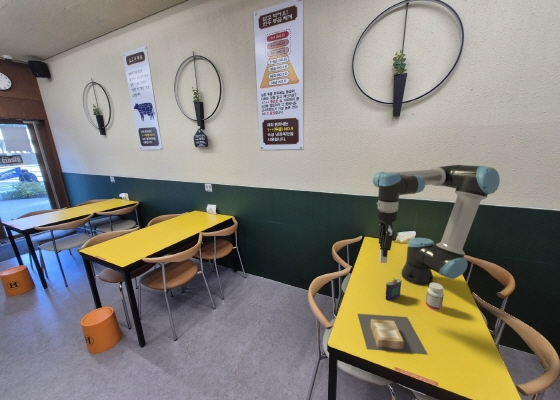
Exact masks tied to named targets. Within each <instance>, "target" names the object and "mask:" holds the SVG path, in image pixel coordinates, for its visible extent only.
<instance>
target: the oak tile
mask: <svg viewBox="0 0 560 400" xmlns="http://www.w3.org/2000/svg"><path fill="white" fill-rule="evenodd" d="M371 329H372V332H373V335H374V338H375V342H376V345H377V347H381V348H392V349H403V345H404V341H403V339H402V337H401V335H400V333H399V330H398V328H397V326H396V324H395V322H394V321H389V320H375V319H371Z"/></svg>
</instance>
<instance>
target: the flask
mask: <svg viewBox="0 0 560 400" xmlns="http://www.w3.org/2000/svg"><path fill="white" fill-rule="evenodd" d="M392 279H393V280H391V281H388V282H386V286H385V300H386V301H388V302H389V301H390V302H391V301H394V300H396V299H398V298H399V297H401V287H402V280H401V279H399V278H395V277H394V278H392Z"/></svg>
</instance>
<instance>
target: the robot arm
mask: <svg viewBox="0 0 560 400" xmlns="http://www.w3.org/2000/svg"><path fill="white" fill-rule="evenodd" d="M500 179H501V178H500V175H499V172H498V171H497V169H496V168H494V167H492V166H491V167H490V166H484V165H465V164H451V165H442V166H435V167H432V168H430V169H423V170H422V169H419V170H406V171H396V172H393V171H387V172H385V171H379V172H376V173H375V174H374V175H373V177H372V184H373V185H374V186H375V187H376V188H378V198H377V199H378V200H377V202H376V205H377V210H376V211H377V212H376V218H377V221H378V244H379V261H378V262H379V263H381V264H388V256H389V255H388V254H389V253H388V252H389V251H391V249H392V248H391V247H392V243H393V238H394V235H395V231H394V230H393V222H396V221H397V220H398V210H399V202H400V196H405V195H414V194H415V195H416V194H419V193H421V192H422V191H424V190H425V187H426V186H431V185H432V186H433V187H439V186H441V187H446V188H452V189H455V191H454V192H455V193H456V199H455V202H454V205H453V208H452V210H451V214H450V215H449V218H448V221H447V224H446V226H445V229H444V232H443V236H442V237H441V241H440V242H438V243H436V244H435V242H434V240H433V239H430V238H425V237H413V238H410V239H409V240H408V242H407V243H408V245H407V252H406V260H405V263H404V266H403V267H402V269H401V273H400V274H401V277H402V278H403V280H405V281H407V282H409V283H410V284H413V285H414V284H415V285H418V286H429V285H430V283H434V276H433V272H432V271H434V272H436V273H438V274H439V275H440V276H442V277H445V278H447V279H450V280H451V279H457V278H459V277H460V276H461V275H464V273H465V272H466V270H467V268H468V265H469V264H468V260H467V259H466V258H465V255H466V254H465V251H464V250H463V248H464V246H465V243H466V241H467V238H468V235H469V232H470V230H471V228H472V224H473V222H474V219H475V217H476V215H477V212H478V209H479V207H480V204H481V201H483V200H485V199H487V197H488V195H492V194H494V193H496V191H497V190H498V189H499V186H500V181H501V180H500Z"/></svg>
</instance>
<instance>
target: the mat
mask: <svg viewBox="0 0 560 400" xmlns="http://www.w3.org/2000/svg"><path fill="white" fill-rule="evenodd" d="M357 317H358V321H359V326H360V329H361V333H362V336H363V340H364V343H365V347H366V350H371V351H372V350H374V351H382V352H383V351H384V352H395V353H407V354H417V355H428V352H427V350H426V348H425V347H424V345H423V343H422V342H421V339H420V337H419V335H418V334H417V332H416V330H415V329H414V327H413V325H412V323H411V321H410V320H409V318H408V316H398V315H382V314H369V313H357ZM371 319H375V320H389V321H394V322H395V324H396V326H397V328H398V330H399V333H400V335H401V337H402V339H403V341H404V345H403V349H392V348H381V347H377V345H376V342H375V338H374V335H373V332H372V329H371Z"/></svg>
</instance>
